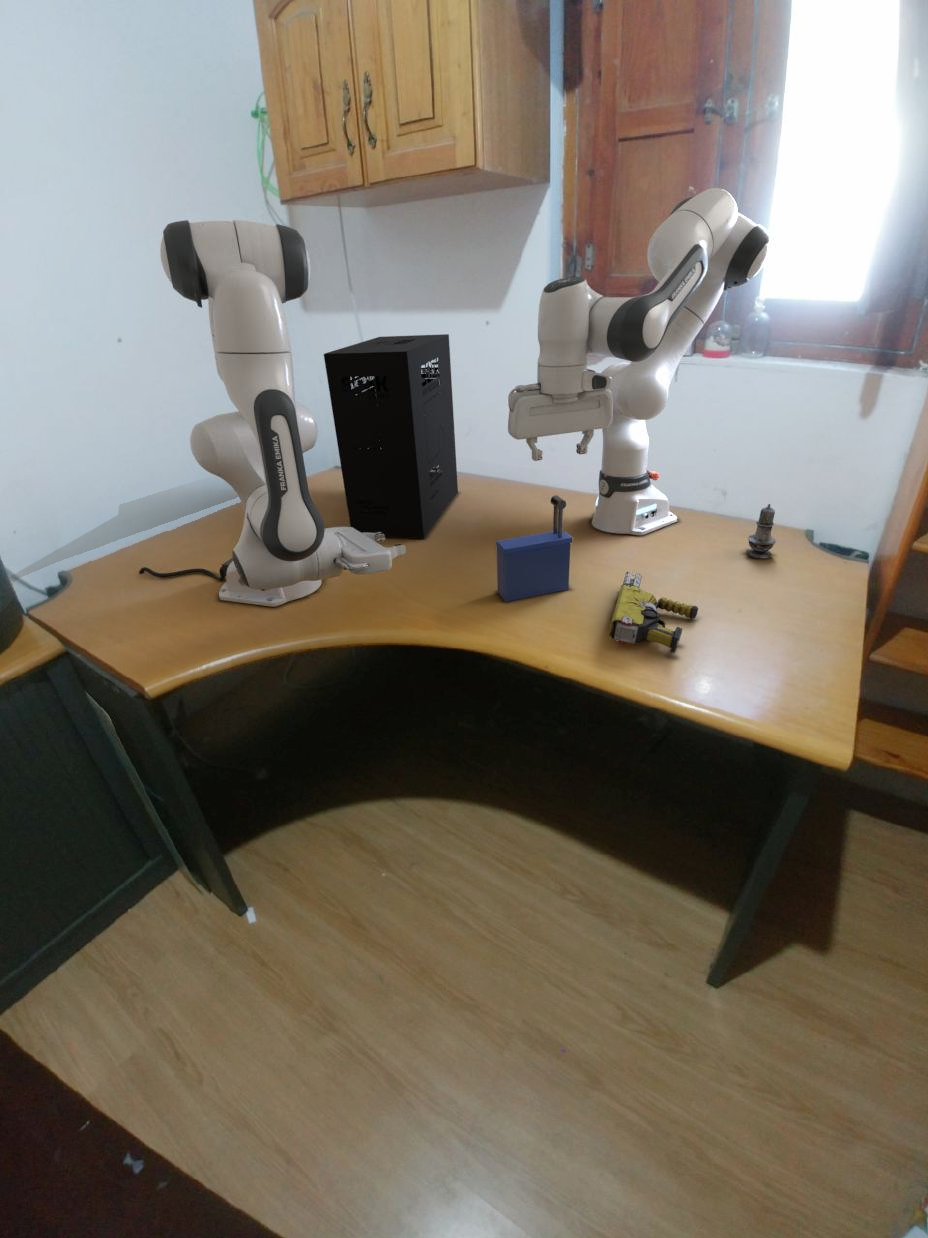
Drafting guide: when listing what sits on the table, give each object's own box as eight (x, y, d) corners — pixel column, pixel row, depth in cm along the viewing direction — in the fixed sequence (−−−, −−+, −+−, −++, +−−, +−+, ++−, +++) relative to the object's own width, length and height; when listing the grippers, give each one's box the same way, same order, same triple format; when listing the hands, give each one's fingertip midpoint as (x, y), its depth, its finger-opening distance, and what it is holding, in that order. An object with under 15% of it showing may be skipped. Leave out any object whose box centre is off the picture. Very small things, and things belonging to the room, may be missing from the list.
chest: (558, 580, 133) (560, 535, 127) (568, 589, 129) (570, 543, 124) (497, 592, 129) (496, 546, 124) (505, 602, 125) (504, 555, 120)
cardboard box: (424, 538, 157) (407, 351, 135) (351, 535, 162) (323, 353, 139) (457, 492, 189) (448, 334, 166) (396, 490, 193) (379, 336, 171)
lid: (562, 534, 128) (563, 492, 123) (572, 542, 124) (574, 499, 119) (496, 546, 124) (495, 503, 119) (504, 554, 120) (503, 510, 115)
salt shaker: (775, 559, 136) (787, 508, 130) (747, 558, 137) (757, 508, 131) (769, 548, 141) (780, 499, 135) (742, 548, 142) (752, 499, 136)
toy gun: (700, 582, 122) (625, 568, 126) (700, 638, 102) (611, 620, 106) (695, 602, 124) (621, 588, 128) (693, 661, 104) (606, 643, 108)
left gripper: (344, 553, 103) (416, 540, 110) (307, 525, 119) (372, 515, 126) (347, 587, 106) (418, 572, 112) (310, 556, 122) (374, 545, 128)
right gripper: (514, 389, 104) (515, 468, 111) (619, 377, 109) (614, 453, 116) (501, 383, 110) (503, 459, 116) (602, 372, 114) (598, 446, 121)
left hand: (393, 542), depth 119 cm, fingers open, 8 cm apart
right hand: (559, 456), depth 116 cm, fingers open, 8 cm apart
